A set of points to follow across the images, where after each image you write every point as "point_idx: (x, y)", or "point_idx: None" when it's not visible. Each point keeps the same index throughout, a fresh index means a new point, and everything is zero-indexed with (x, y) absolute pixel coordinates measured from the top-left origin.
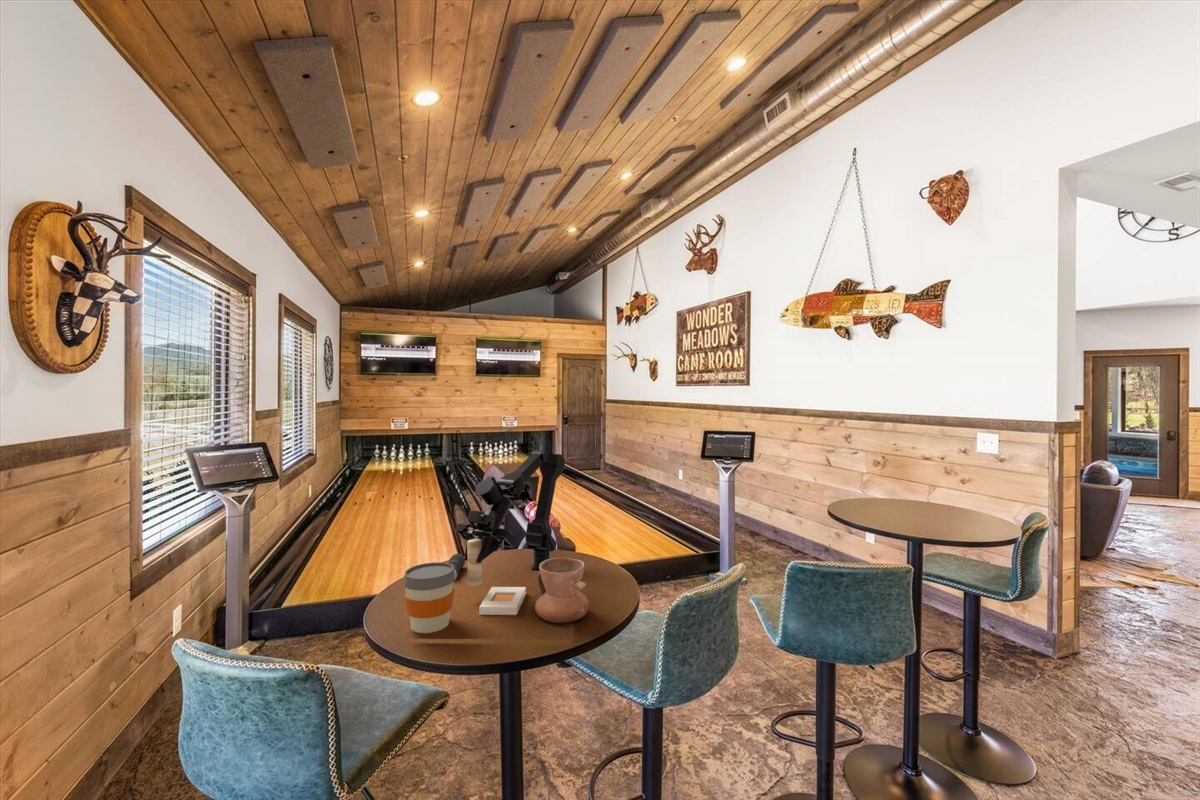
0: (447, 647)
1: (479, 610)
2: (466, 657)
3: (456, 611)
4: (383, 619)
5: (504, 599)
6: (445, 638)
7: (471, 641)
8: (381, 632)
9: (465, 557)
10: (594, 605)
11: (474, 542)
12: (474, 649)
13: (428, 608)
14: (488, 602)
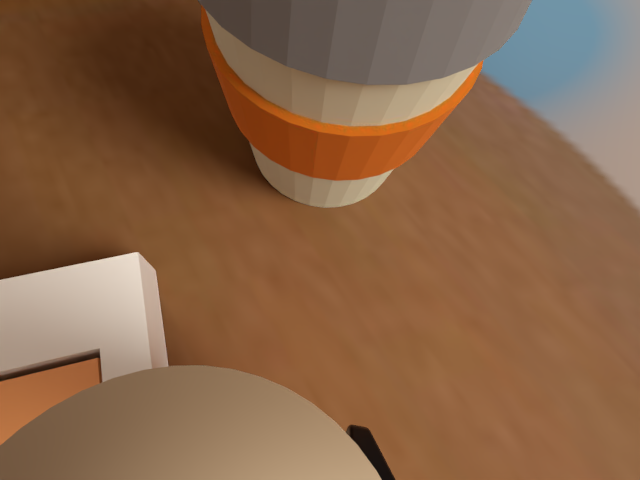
0: (179, 44)
1: (142, 258)
2: (83, 5)
3: (309, 313)
4: (556, 171)
5: (20, 425)
6: (220, 91)
7: (107, 89)
8: (475, 89)
9: (358, 438)
10: None
11: (87, 457)
12: (73, 47)
13: None
14: (103, 322)
